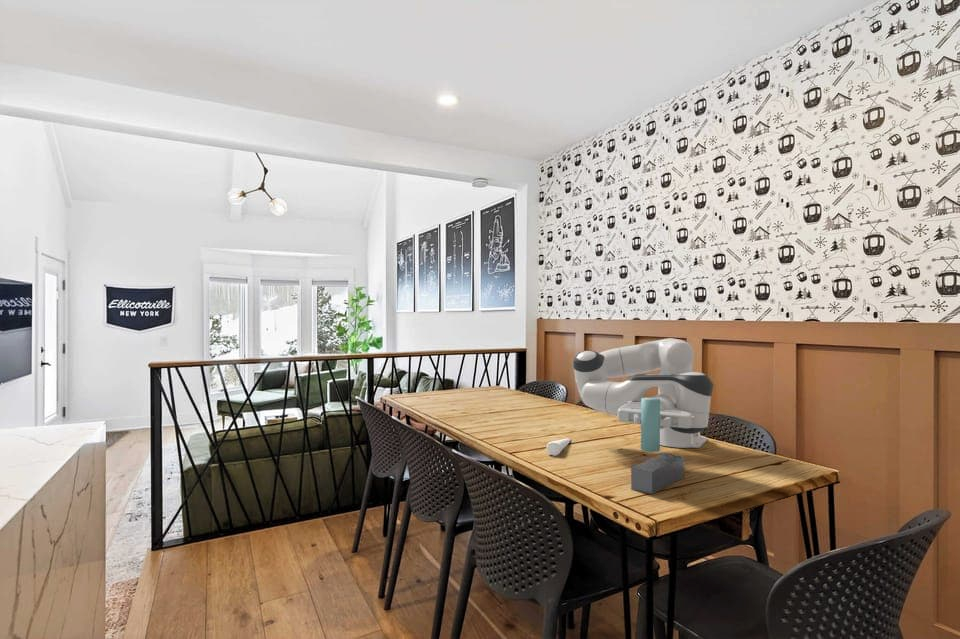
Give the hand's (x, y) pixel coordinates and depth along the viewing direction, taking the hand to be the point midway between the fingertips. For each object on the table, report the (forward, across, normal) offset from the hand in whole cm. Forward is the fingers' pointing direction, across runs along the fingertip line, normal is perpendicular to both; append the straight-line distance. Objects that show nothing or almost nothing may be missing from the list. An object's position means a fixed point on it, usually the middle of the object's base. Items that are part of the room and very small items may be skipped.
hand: (649, 422), depth 135 cm
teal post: (-1, 0, -8) cm, 8 cm away
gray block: (-5, -2, -18) cm, 19 cm away
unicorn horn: (-28, +35, -19) cm, 49 cm away
